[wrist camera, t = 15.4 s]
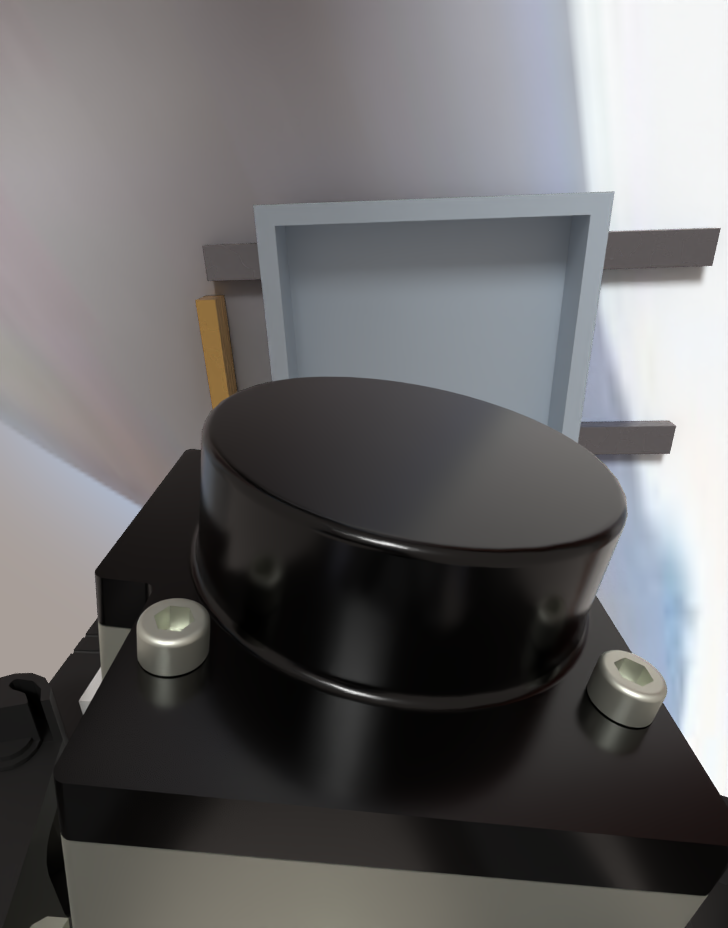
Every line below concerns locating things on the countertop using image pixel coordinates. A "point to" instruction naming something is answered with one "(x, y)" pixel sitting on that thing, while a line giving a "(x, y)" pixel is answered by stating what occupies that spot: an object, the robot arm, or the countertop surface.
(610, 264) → the rails
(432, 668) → the pneumatic valve
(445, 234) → the shallow square tray
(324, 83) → the countertop surface
